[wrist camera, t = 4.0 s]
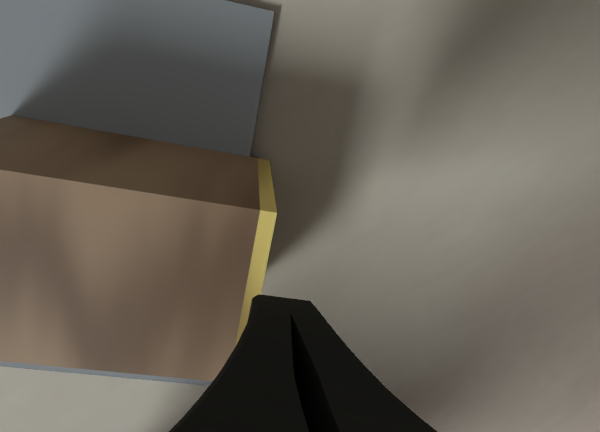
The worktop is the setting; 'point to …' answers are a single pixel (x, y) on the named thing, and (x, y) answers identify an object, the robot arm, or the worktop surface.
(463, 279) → the worktop surface
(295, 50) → the worktop surface
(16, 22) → the grey mat
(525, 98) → the worktop surface
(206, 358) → the brown wooden block
